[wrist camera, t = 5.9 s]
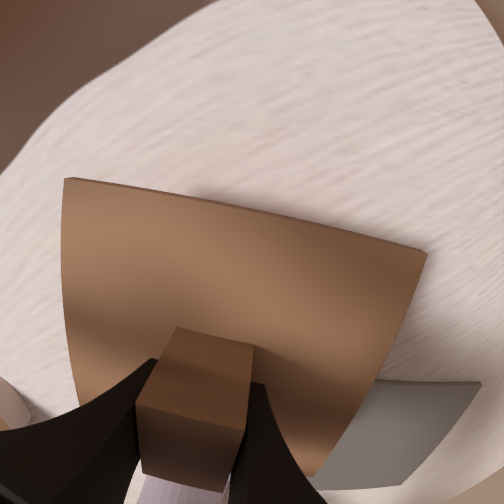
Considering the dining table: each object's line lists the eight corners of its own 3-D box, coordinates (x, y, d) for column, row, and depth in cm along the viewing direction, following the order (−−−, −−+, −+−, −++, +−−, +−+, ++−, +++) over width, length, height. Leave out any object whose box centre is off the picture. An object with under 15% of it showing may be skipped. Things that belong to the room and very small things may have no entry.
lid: (312, 469, 13) (317, 535, 9) (88, 416, 13) (53, 471, 9) (419, 249, 10) (497, 302, 5) (73, 177, 10) (-18, 191, 5)
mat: (399, 482, 22) (400, 484, 21) (266, 483, 22) (266, 487, 21) (480, 382, 17) (482, 384, 17) (321, 374, 17) (321, 378, 17)
